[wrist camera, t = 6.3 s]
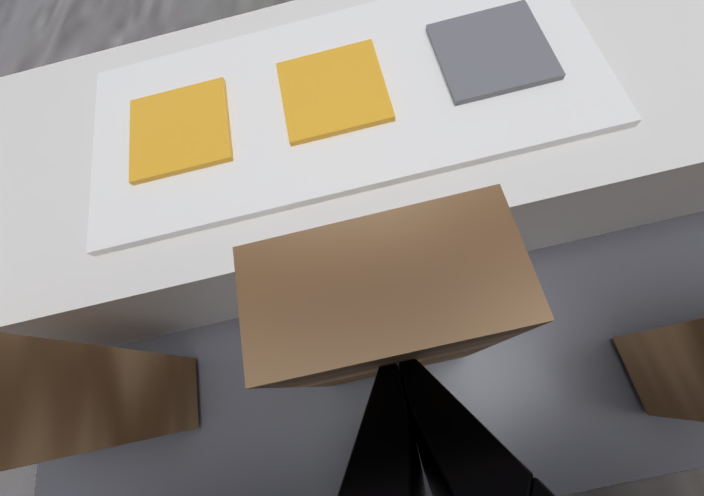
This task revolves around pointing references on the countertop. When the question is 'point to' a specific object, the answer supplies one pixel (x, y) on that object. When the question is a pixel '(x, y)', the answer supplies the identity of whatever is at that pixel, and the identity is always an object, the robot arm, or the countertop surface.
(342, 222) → the key middle
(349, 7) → the key console
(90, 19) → the countertop surface
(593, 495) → the countertop surface
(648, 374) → the key
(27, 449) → the key
